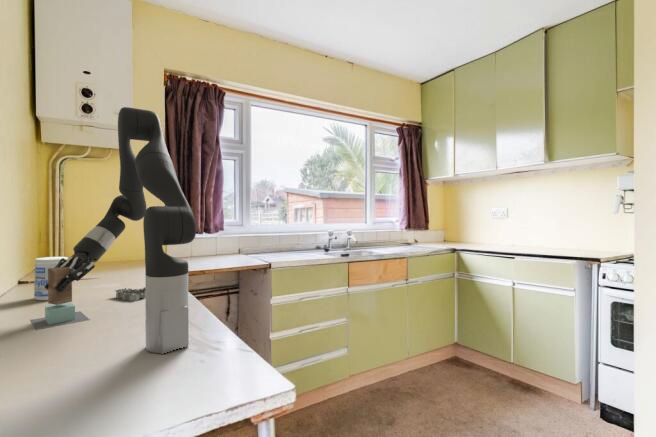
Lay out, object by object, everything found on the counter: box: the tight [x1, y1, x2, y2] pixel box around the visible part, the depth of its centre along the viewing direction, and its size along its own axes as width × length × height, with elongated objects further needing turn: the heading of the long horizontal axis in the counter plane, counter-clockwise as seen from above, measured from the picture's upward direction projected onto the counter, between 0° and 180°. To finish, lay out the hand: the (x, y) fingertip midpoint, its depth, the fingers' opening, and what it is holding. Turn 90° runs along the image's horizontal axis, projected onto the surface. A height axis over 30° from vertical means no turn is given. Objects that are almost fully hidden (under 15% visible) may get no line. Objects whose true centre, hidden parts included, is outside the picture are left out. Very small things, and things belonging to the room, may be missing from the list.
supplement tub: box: [33, 256, 69, 301], centre depth 124 cm, size 10×10×15 cm
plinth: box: [44, 302, 76, 325], centre depth 98 cm, size 6×6×4 cm
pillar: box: [47, 267, 73, 305], centre depth 98 cm, size 4×4×10 cm
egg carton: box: [114, 286, 146, 302], centre depth 125 cm, size 11×8×4 cm
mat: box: [29, 310, 91, 331], centre depth 99 cm, size 12×12×1 cm
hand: (52, 289), depth 97 cm, fingers closed on pillar, 4 cm apart
